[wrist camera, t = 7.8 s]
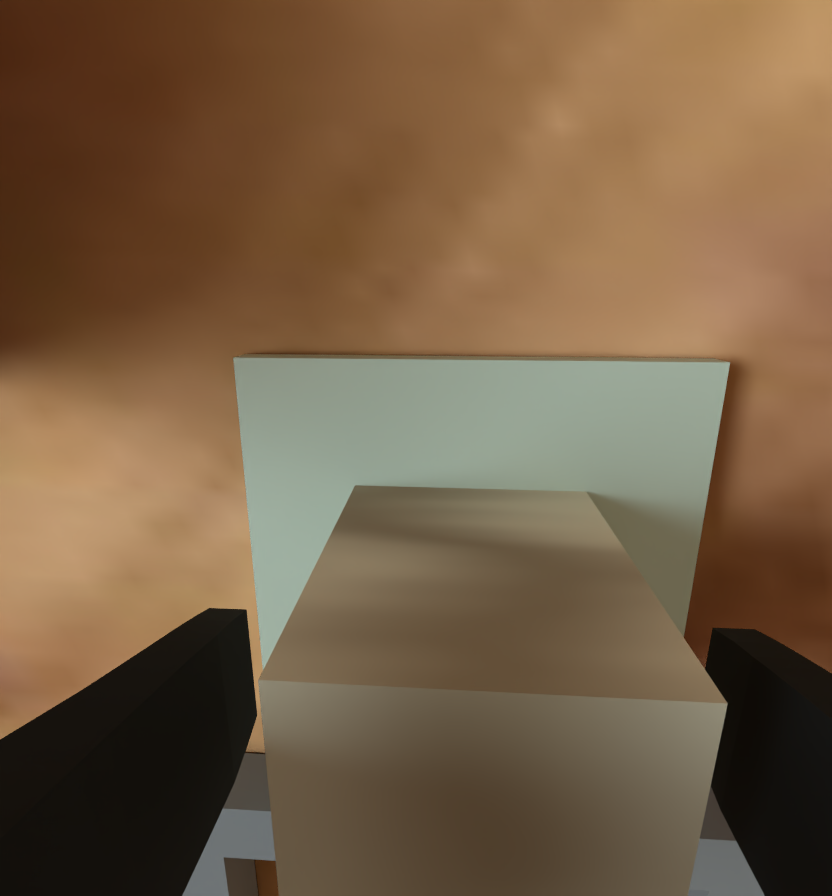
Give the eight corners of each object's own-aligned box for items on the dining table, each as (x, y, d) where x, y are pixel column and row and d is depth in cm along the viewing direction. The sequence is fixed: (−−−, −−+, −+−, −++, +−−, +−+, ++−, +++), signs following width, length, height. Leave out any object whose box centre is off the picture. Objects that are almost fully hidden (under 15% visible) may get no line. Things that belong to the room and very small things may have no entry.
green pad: (277, 722, 13) (269, 742, 13) (245, 353, 11) (233, 357, 10) (652, 742, 13) (662, 764, 12) (714, 357, 10) (730, 362, 9)
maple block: (360, 675, 12) (287, 985, 7) (355, 485, 11) (257, 680, 5) (566, 685, 12) (662, 1017, 6) (586, 491, 10) (728, 703, 5)
